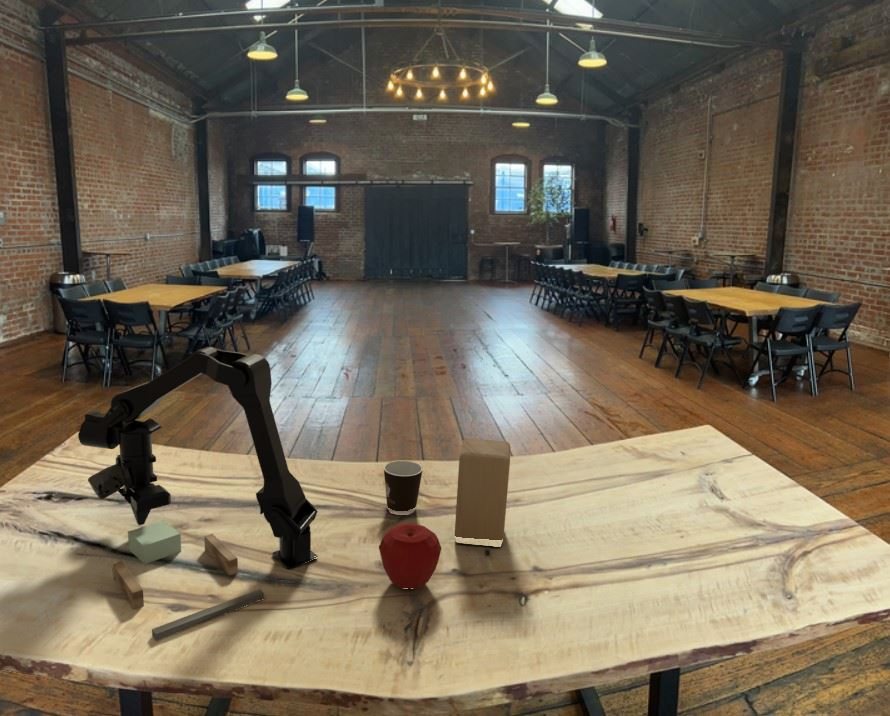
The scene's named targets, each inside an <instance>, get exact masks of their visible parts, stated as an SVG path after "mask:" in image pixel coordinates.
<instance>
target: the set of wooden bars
mask: <svg viewBox="0 0 890 716" xmlns="http://www.w3.org/2000/svg"><path fill="white" fill-rule="evenodd" d="M204 551H205V552H206V553H207V554H208V555H209V556H210V557H211V558H212V559H213V560H214V562H215V563H217V564H218V565H219V566H220V567H221V569H223V571H224V572H225V573H226V574H227V575H228V576H233V575H235V574H238V573H239V570H238V569H239V567H238V566H239V565H238V562H239V561H238V560H239V559H238V557H237V556H236V555H235V554H234V553H233V552H232V551H231V550H230V549H229V548H228V547H227V546H226V545H225V544H224V543H223V541H220V539H219V538H217V536H216V535H214V534H213V533H211V534H207V535H204ZM111 566H112V577H113V578H112V579H113V581H114V582H115V583H116V585H117V586H118V588H119V590H120V591H121V592H122V593H123V595H124V596H125V598H126V599H127V601H128V603H129V604H130V605H131V607H132V608H133V610H135V609H137V608H140V607H143V606H145V604H144V603H145V602H144V601H145V600H144V590H143V589H144V588H143V587H142V586H141V585H140V584H139V582H138V581H137V580H136V578H135V577H134V575H133V574H132V573H131V571H130V570H129V568H128V567H127V565H126V564H125V563H124V562H123V560H120V561H117V562H113V563H112V565H111ZM262 599H264V600H265V592H263V591H262V589H261V588H259V589H256V590H253V591H251V592H248V593H245V594H243V595H240V596H237V597H234V598H232V599H228V600H227V601H223V602H221V603H219V604H216V605H212V606H210V607H207V608H205V609H202V610H199V611H196V612H195V613H191V614H188V615H186V616H183V617H181V618H178V619H175V620H173V621H170V622H167V623H164V624H162V625H158V626H156V627H154V628H151V636H152V638H153V639H154V641H155V642H157V641H159V640H163V639H165V638H167V637H168V638H169V637H170V636H172V635H176V634H178V633H181V632H183V631H186V630H189V629H191V628H193V627H196V626H199V625H201V624H203V623H204V624H205V623H206V622H209V621H211V620H215V619H216V618H217V619H218V618H219V617H222V616H224V614H225V613H227V614H229V612H230V611H233V612H235V611H237V610H236V609H238V610H239V608H240V609H242V608H241V607H243V608H245V607H244V606H246V605H248V606H250V605H249V604H251V603H253V604H255V603H254V602H256V601H258V600H261V601H263V600H262ZM258 602H259V601H258ZM256 603H257V602H256ZM251 605H252V604H251ZM246 607H247V606H246ZM234 610H235V611H234ZM230 613H231V612H230ZM225 615H226V614H225Z"/></svg>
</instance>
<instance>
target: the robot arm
mask: <svg viewBox="0 0 890 716" xmlns="http://www.w3.org/2000/svg"><path fill="white" fill-rule="evenodd" d="M271 372H272V371H271V366H270V363H269V360H267V358H265V357H264V356H262V355H260V354H258V353H250V354H246V353H243V352H238V351H232V350H231V351H230V350H223V349H219V348H217V347H212V346H207V347H204V348H201V349H199V350H197V351H194V352H193V353H192V354H190V356H188V357H187V358H185V359H184V360H182V361H181V362H179V363H178V364H176V365H174V366H173V367H170V368H169V369H167V370H166V371H165V372H163V373H161V374H160V375H158V376H156V377H155V378H153V379H151V380H150V381H147V382H144V383H141V384H139V385H136V386H134V387H132V388H129V389H127V390H124V391H122V392H119V393H118V394H115V395H114V396H113V397H112V398H111V399H110V403H111V404H110V408H109V409H108V411H107V412H106V413H102V412H99V411H90V412H87V413H86V414H84V421H83V422H82V423H81V425H80V428H79V432H78V434H77V436H78V437H77V438H78V441H79V443H80V444H81V445H82V446H84V447H85V446H86V447H92V448H99V449H100V448H101V449H106V450H114V449H116V448H117V447H118V446H119V454H117V455H116V457H115V464H113V465H111V466H108V467H105V468H104V469H102V470H100V471H98V472H96V473H95V474H93V475H90V476H89V477H88V479H87V481H88V483H89V485H90V487H91V489H92V491H93V492H94V494H95V495H96V496H97V497H98V499H99V500H103V499H106V498H107V497H110V496H112V495H113V494H114V493H117V492H118V493H119V494H120V495H121V496H122V497H123V498H124V500H125V502H127V503H128V504H129V505H130V507H131V510H132V512H133V516H134V518H135V521H136V524H137V525H138V526H142V525H144V524H145V523H146V521H147V519H148V516H149V515H150V513H151V510H153V509H157V508H162V507H166V506H169V505H170V504H171V503H172V502H171V501H172V498H171V493H170V492H169V491H168V490H167V489H166V488H165V487H163V486H162V485H160V484H155V483H156V482H158V475H156V473H154V463H156V462H157V457H156V456H155V455H154V453H153V443H152V440H153V439H152V434H154V433H156V432H157V431H159V430H161V429H162V425H161V424H160V423H158V422H157V421H155V420H154V418H153V417H150V418H148V419H146V420H139V418H142V417H143V416H146V415H148V414H150V413H151V412H152V411H155V409H156V408H157V407H158V406H159V405H160V404H161V403H162V402H163V400H164V399H165V398H166V397H167V396H168V395H169V394H171V393H172V392H174V391H176V390H177V389H179V388H180V387H182V386H185V385H186V384H188V383H189V382H190V381H193V380H194V379H196V378H197V377H199V376H200V375H206V376H207V377H208V378H210V379H211V380H213V381H215V382H216V383H220V384H222V385H225V386H227V387H228V389H229V391H230V394H231V396H232V398H233V399H234V400H235V401H236V402H237V403H238V404H239V405H240V406H241V408H242V409H243V410H244V411H243V412H244V415H245V417H246V422H247V426H248V428H249V431H250V435H251V439H252V443H253V447H254V449H255V453H256V457H257V460H258V463H259V467H260V471H261V475H262V479H263V486H262V487H261V488H260V489H259V490H258V491H257V492H256V493H255V498H256V500H257V502H258V505H259V514H260V515H262V514H263V517H264V519H265V521H266V522H267V523H269V525H270V528H271V531H272V532H271V533H272V535H273V537H274V538H279V541H278V542H279V550H275V551H272V553H271V554H272V556H273V558H274V559H276V560H277V561H278V560H279V561H280V562H281V563H282V564H281V563H280V562H279V561H278V562H279V563H280V564H281V565H282V566H283V567H284V568H286V569H288V570H290V568H291V569H293V568H296V567H299V566H302V565H304V564H303V563H305V562H307V563H309V562H308V561H310V560H312V559H314V558H316V557H318V555H317V554H316V553H315V552H314V551H313V550H311V546H312V545H311V543H312V542H311V541H312V535H311V534H312V532H311V524H312V522H313V521H314V520H316V517H317V515H318V512H319V511H318V510H317V509H316V508H315V507H314V506H313V504H312V503H311V502H310V501H309V500H308V499H307V497H306V495H305V493H304V491H303V488H302V486H301V483H300V482H299V480H298V479H297V478H296V477H295V476H294V475H293V474H292V473H291V472H290V470H289V467H288V463H287V459H286V455H285V452H284V449H283V444H282V441H281V437H280V435H279V430H278V426H277V423H276V419H275V415H274V412H273V408H272V405H271V391H272V384H273V383H272V381H273V380H272V374H271ZM154 482H155V483H154ZM314 556H316V557H314ZM310 562H311V561H310ZM301 564H302V565H301ZM305 564H306V563H305ZM298 565H299V566H298Z"/></svg>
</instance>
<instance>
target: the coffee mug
mask: <svg viewBox="0 0 890 716" xmlns="http://www.w3.org/2000/svg"><path fill="white" fill-rule="evenodd" d="M383 474H384V485H385V499H386V507H387V506H388V508H390V509H392V510H395V511H408V510H410V509H413V508H415V507H416V508H417V505H418V499H419V492H420V487H421V482H422V481H421V480H422V476H423V466H422V465H421V464H420V463H418V462H416V461H412V460H402V459H400V460H393V461H389V462H387V463H385V464H384V465H383Z"/></svg>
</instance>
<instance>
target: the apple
mask: <svg viewBox="0 0 890 716" xmlns="http://www.w3.org/2000/svg"><path fill="white" fill-rule="evenodd" d="M378 550H379V554H380V559H381V563H382V567H383V569H384V572H385V573H386V575H387V577H388V579H389V580H390V582H391V583H392V584H393V585H395V586H396V587H398V586H399V587H398V588H400V587H401V588H400V589H402V588H408V589H411V588H416V589H418V588H421V587H422V586H425V585H426V584H428V583H429V581H430V580H431V578H432V576H433V574H434V573H435V570H436V569H437V567H438V563H439V561H440V560H439V559H440V556H441V554H442V553H441V551H442V546H441V543H440V541H439V538H438V536H437V535H436V532H433V531H432V530H431V529H429V528H428V527H426V526H425V525H421V524H417V523H412V522H410V523H409V522H406V523H404V522H403V523H399V524H396V525H395V526H393V527H391V528H390V529H388V530H387V531H385V533H384V534H383V537H382V538H381V541H380V544H379V546H378ZM420 586H421V587H420ZM417 587H418V588H417Z"/></svg>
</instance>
